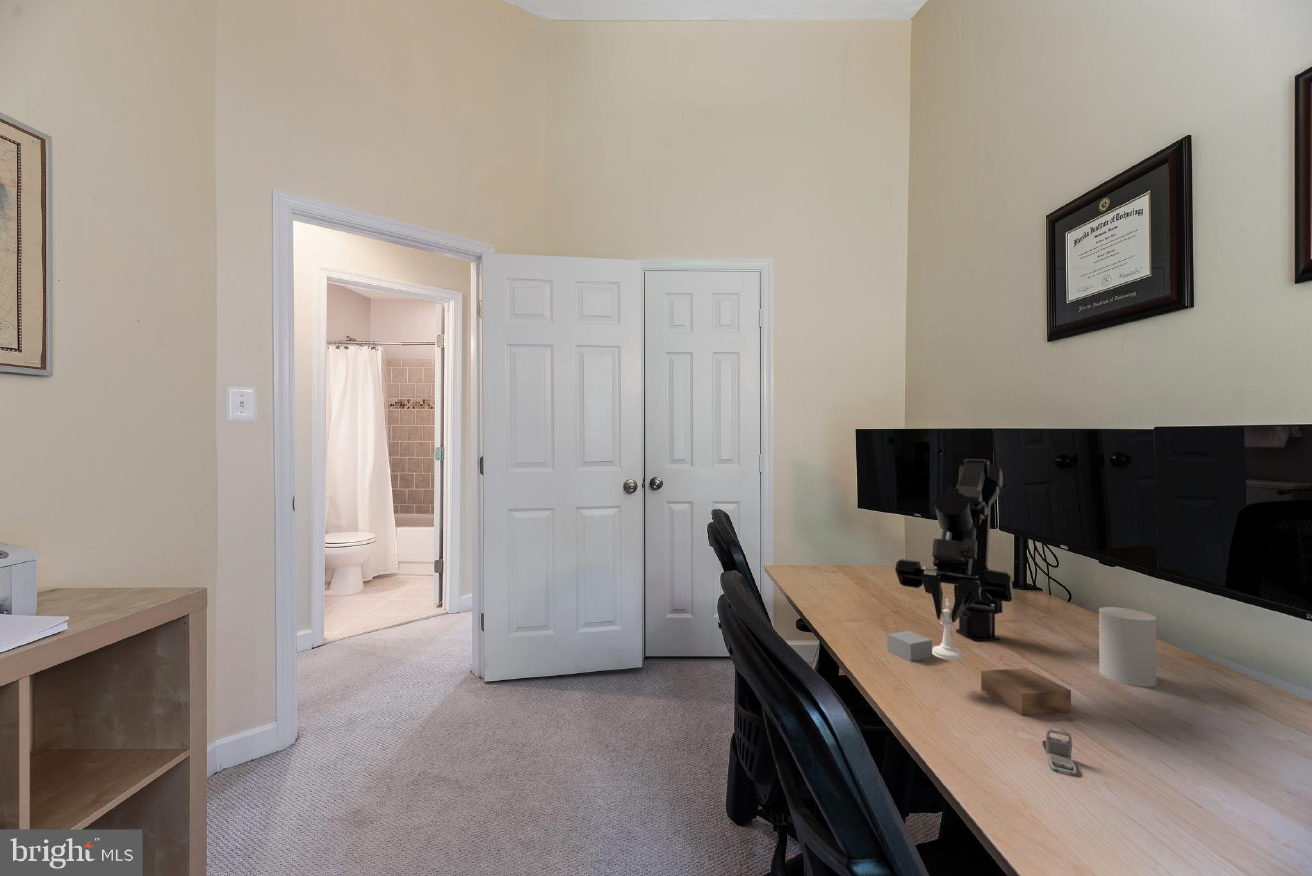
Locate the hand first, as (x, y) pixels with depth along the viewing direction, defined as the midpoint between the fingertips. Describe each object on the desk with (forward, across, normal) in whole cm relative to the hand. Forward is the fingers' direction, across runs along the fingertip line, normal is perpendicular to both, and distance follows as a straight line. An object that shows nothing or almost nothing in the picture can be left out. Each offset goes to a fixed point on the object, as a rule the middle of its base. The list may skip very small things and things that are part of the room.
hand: (945, 619), depth 97 cm
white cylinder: (-10, +26, +29) cm, 40 cm away
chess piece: (+4, 0, +6) cm, 7 cm away
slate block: (-1, -9, +19) cm, 22 cm away
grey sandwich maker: (+19, +16, 0) cm, 25 cm away
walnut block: (+6, +11, +12) cm, 18 cm away
